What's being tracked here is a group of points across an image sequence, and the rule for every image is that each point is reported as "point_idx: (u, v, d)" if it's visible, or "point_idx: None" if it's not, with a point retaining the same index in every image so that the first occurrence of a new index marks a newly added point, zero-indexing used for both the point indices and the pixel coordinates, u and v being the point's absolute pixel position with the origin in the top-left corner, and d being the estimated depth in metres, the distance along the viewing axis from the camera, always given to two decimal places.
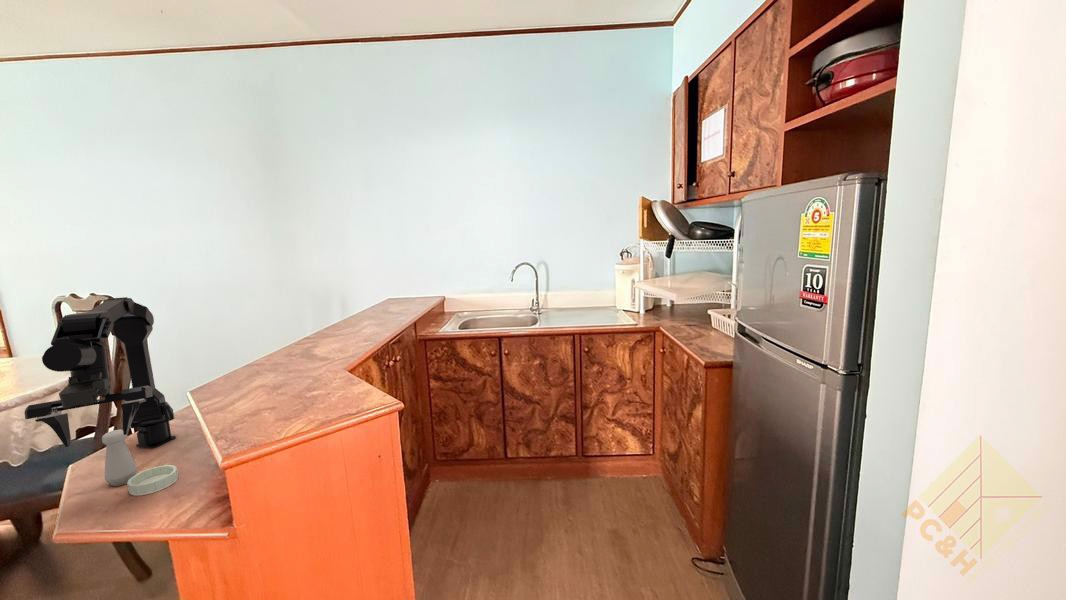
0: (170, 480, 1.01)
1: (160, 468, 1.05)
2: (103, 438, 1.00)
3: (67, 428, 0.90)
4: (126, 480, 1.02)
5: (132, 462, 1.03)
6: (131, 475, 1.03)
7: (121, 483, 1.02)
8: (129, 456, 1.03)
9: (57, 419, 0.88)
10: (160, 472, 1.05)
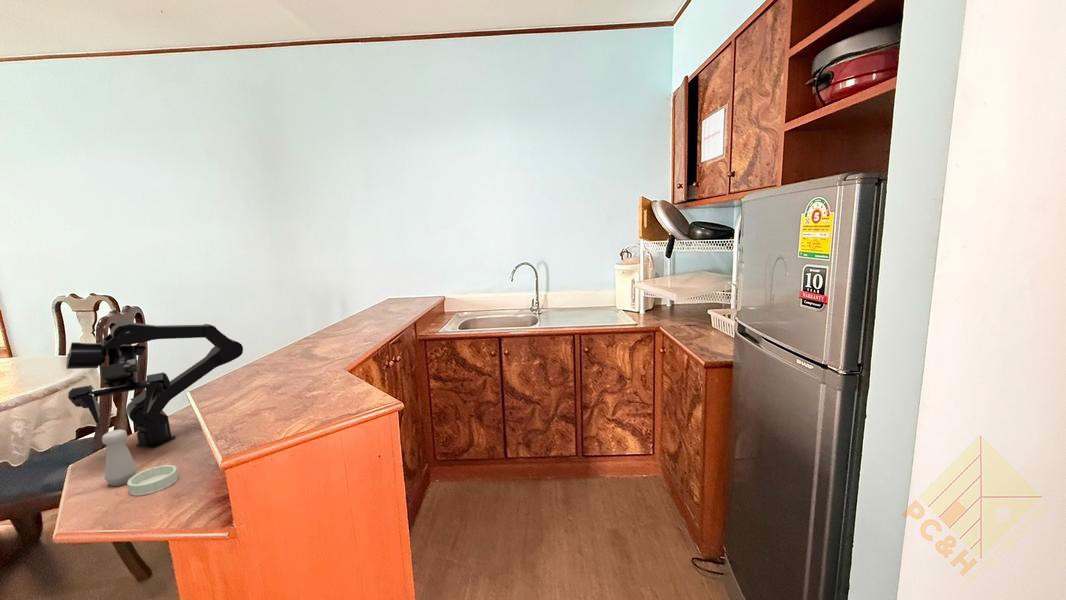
0: (170, 480, 1.01)
1: (160, 468, 1.05)
2: (103, 438, 1.00)
3: (98, 411, 1.08)
4: (126, 480, 1.02)
5: (132, 462, 1.03)
6: (131, 475, 1.03)
7: (121, 483, 1.02)
8: (129, 456, 1.03)
9: (93, 398, 1.06)
10: (160, 472, 1.05)
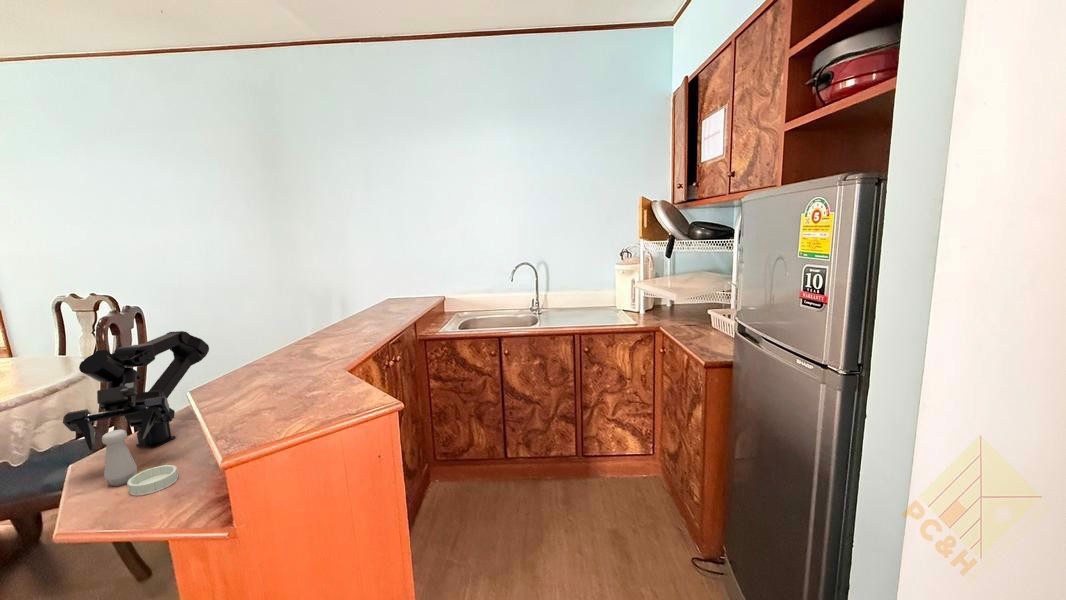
0: (170, 480, 1.01)
1: (160, 468, 1.05)
2: (103, 438, 1.00)
3: (93, 437, 1.03)
4: (126, 480, 1.02)
5: (132, 462, 1.03)
6: (131, 475, 1.03)
7: (121, 483, 1.02)
8: (129, 456, 1.03)
9: (88, 423, 1.02)
10: (160, 472, 1.05)
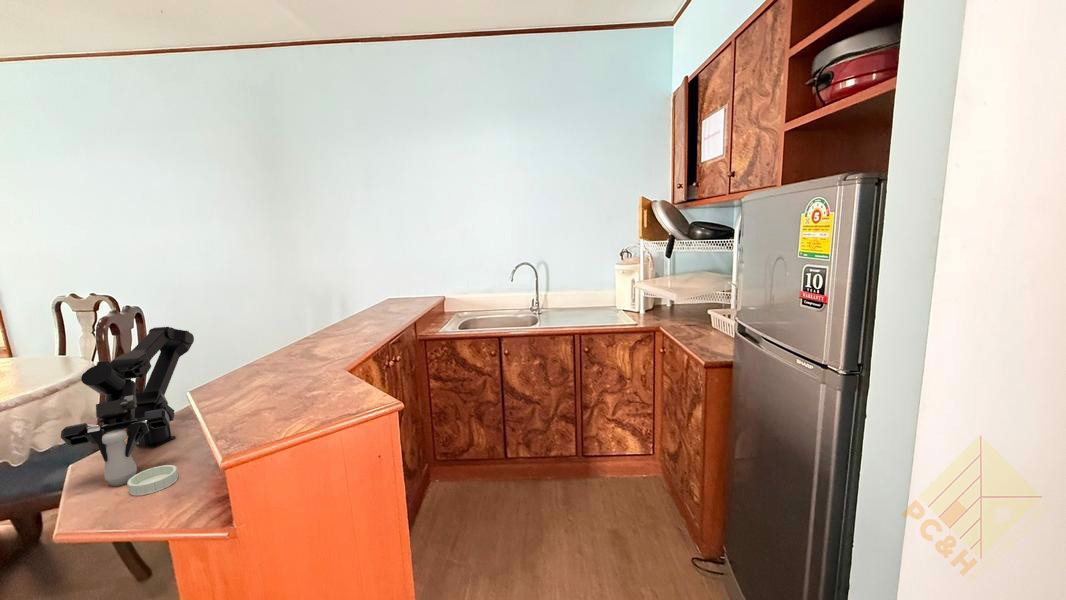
0: (170, 480, 1.01)
1: (160, 468, 1.05)
2: (103, 438, 1.00)
3: None
4: (126, 480, 1.02)
5: (132, 462, 1.03)
6: (131, 475, 1.03)
7: (121, 483, 1.02)
8: (129, 456, 1.03)
9: (102, 434, 1.01)
10: (160, 472, 1.05)
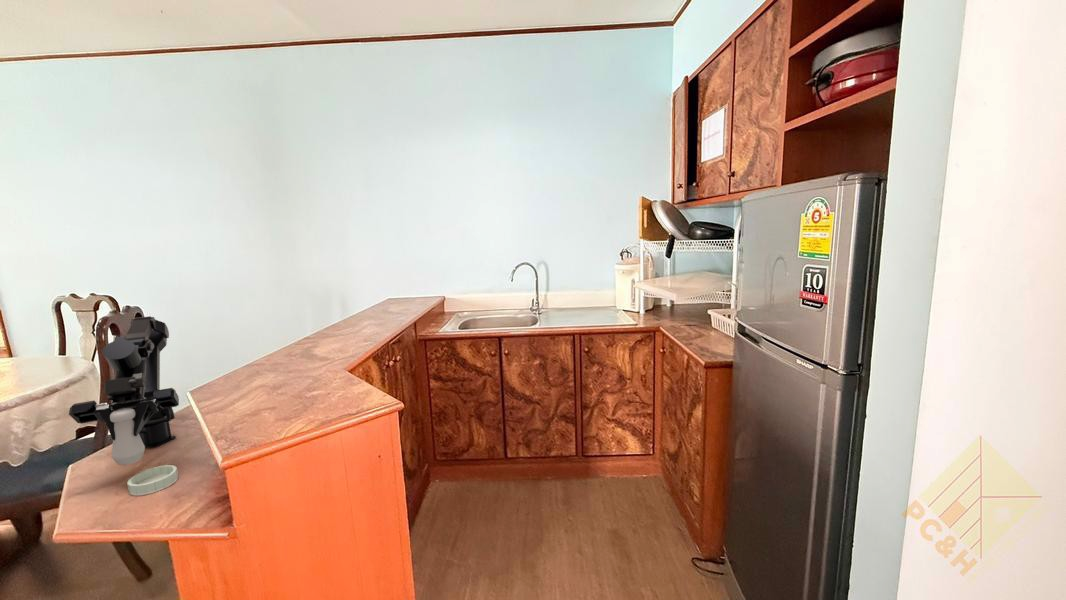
0: (170, 480, 1.01)
1: (160, 468, 1.05)
2: (111, 416, 0.97)
3: None
4: (133, 460, 1.00)
5: (140, 442, 1.01)
6: (138, 455, 1.01)
7: (128, 463, 0.99)
8: (137, 435, 1.01)
9: (111, 412, 0.99)
10: (160, 472, 1.05)
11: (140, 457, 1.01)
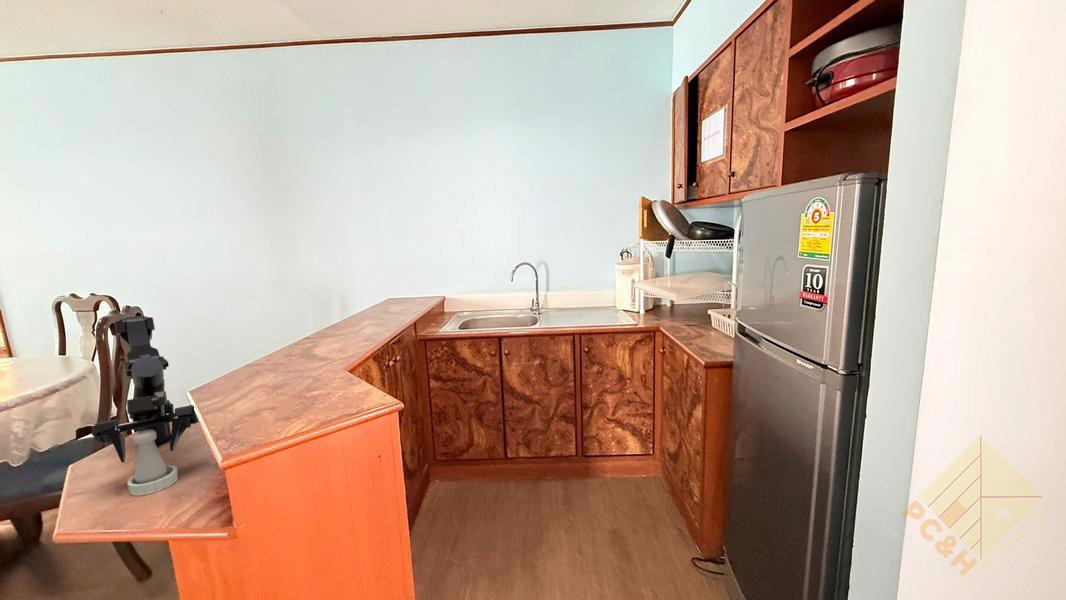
0: (170, 480, 1.01)
1: None
2: (133, 438, 0.98)
3: (124, 448, 0.99)
4: None
5: (162, 462, 1.02)
6: (161, 476, 1.01)
7: None
8: (159, 456, 1.01)
9: (119, 434, 0.98)
10: None
11: None
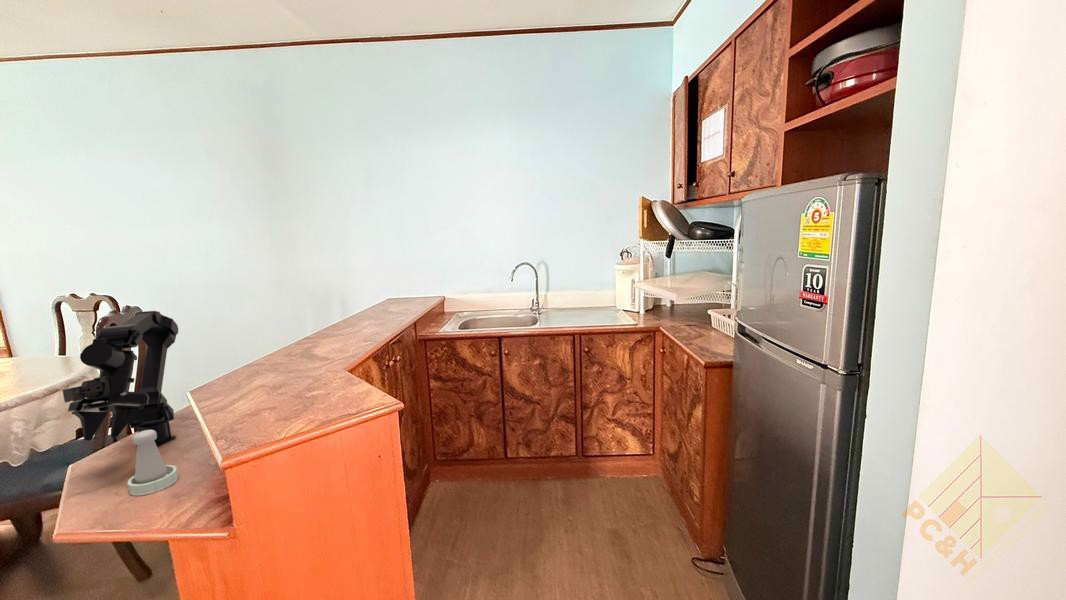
0: (170, 480, 1.01)
1: None
2: (134, 438, 0.98)
3: (96, 424, 1.04)
4: None
5: (162, 463, 1.02)
6: (161, 476, 1.01)
7: None
8: (159, 457, 1.01)
9: (83, 414, 1.03)
10: None
11: None
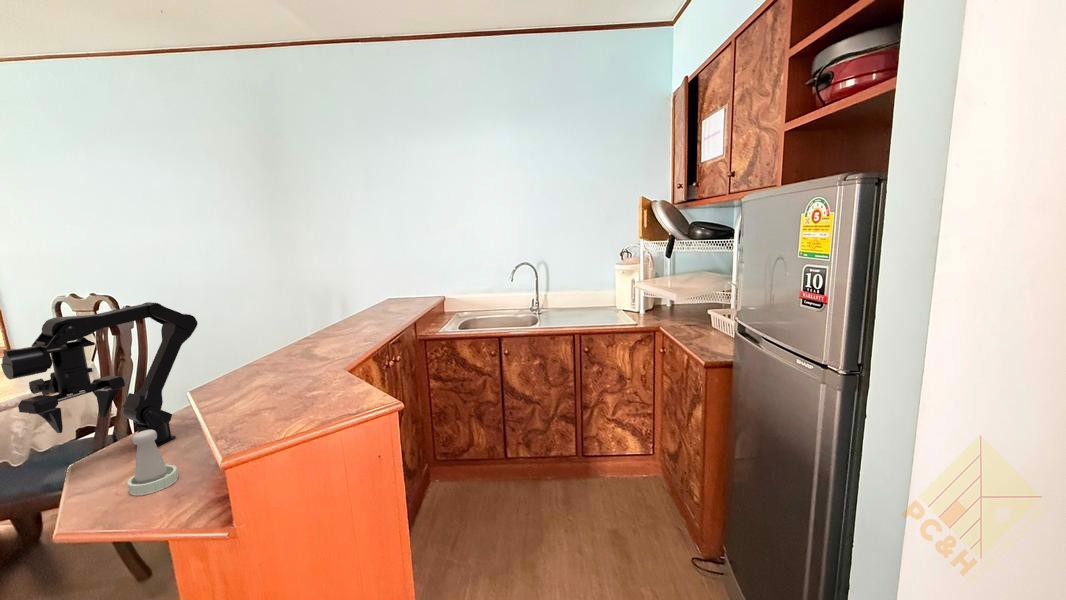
0: (170, 480, 1.01)
1: None
2: (134, 438, 0.98)
3: (104, 403, 1.12)
4: None
5: (162, 463, 1.02)
6: (161, 476, 1.01)
7: None
8: (159, 457, 1.01)
9: (95, 394, 1.13)
10: None
11: None
